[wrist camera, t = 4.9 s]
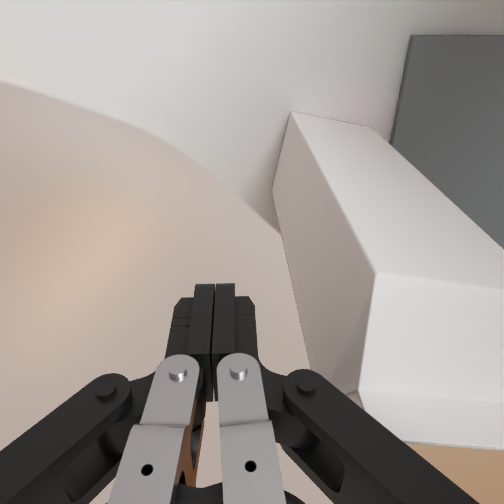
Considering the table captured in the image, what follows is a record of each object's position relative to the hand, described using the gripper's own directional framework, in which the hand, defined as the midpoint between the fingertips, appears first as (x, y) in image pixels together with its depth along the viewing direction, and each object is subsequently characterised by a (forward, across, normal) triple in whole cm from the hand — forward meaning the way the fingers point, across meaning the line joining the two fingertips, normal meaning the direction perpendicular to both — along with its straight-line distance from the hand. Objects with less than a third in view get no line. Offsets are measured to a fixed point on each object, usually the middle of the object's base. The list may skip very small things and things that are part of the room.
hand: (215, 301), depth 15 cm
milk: (+16, -7, 0) cm, 18 cm away
